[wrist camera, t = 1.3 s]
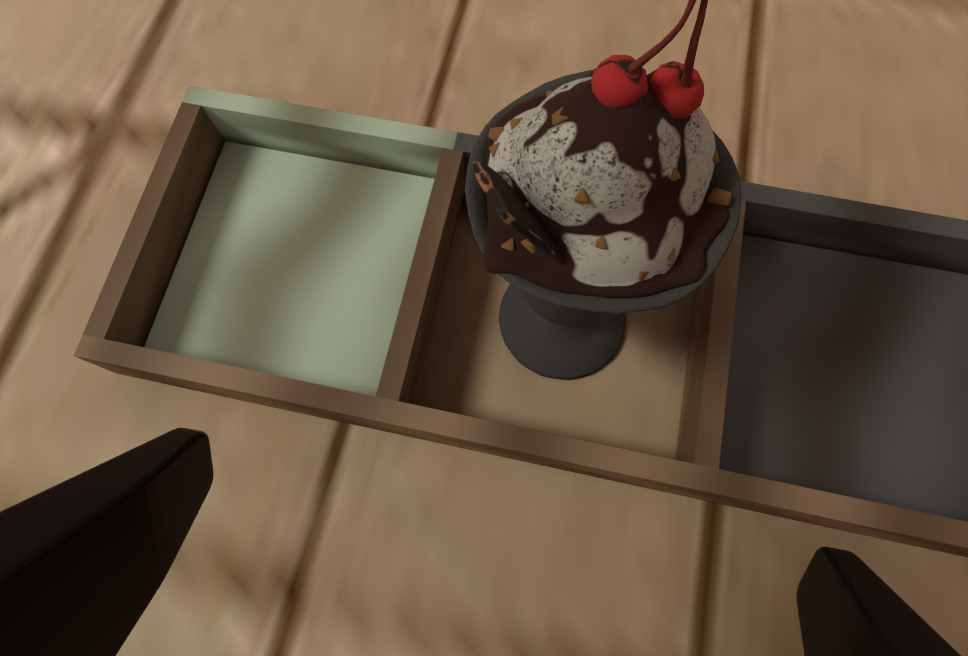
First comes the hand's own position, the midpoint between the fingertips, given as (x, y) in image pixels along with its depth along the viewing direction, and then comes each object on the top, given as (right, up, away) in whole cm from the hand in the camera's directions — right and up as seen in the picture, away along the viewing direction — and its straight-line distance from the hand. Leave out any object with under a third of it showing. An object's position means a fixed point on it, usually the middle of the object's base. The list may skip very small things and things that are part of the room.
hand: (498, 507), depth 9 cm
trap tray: (+3, +3, +16) cm, 16 cm away
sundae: (+3, +3, +16) cm, 16 cm away
